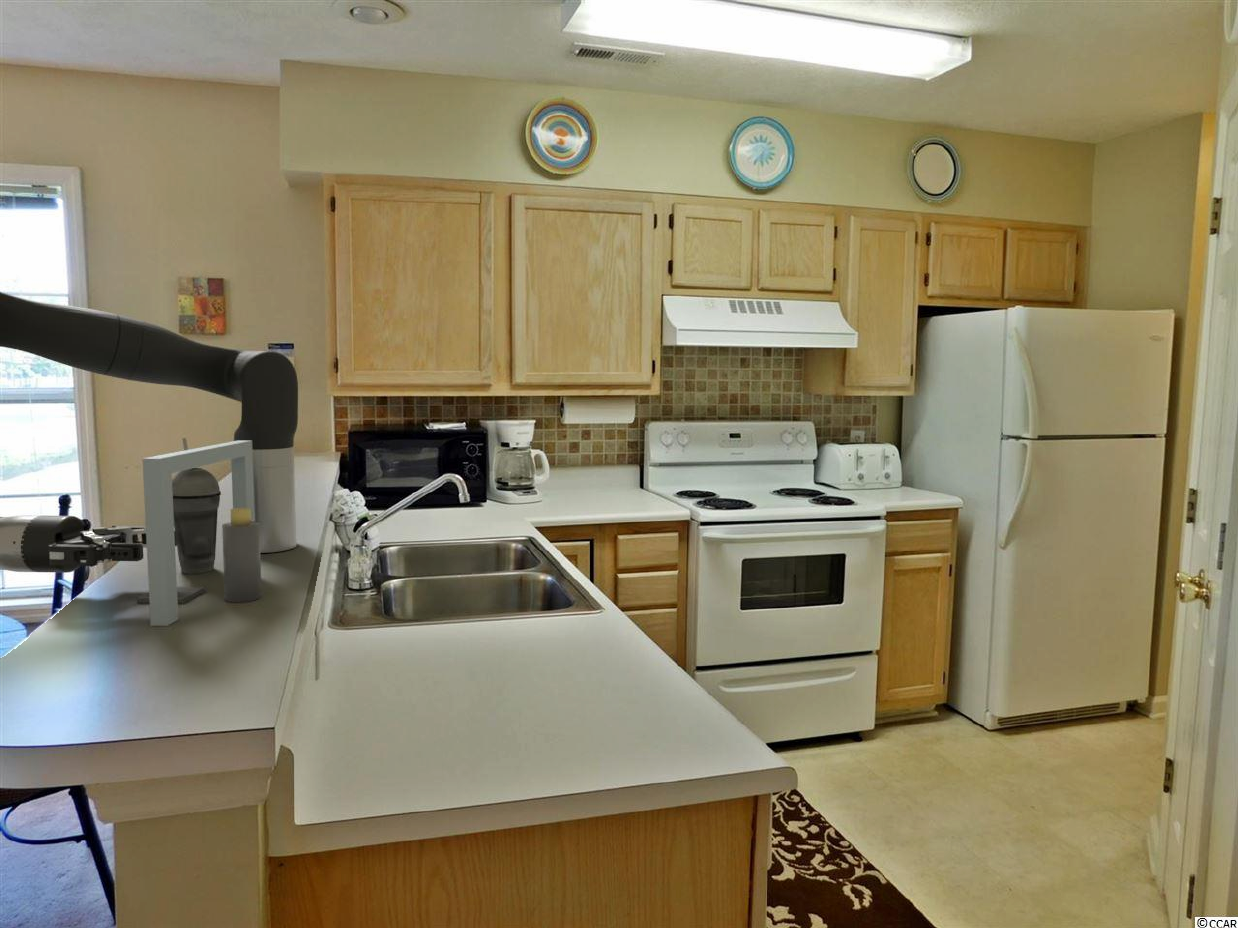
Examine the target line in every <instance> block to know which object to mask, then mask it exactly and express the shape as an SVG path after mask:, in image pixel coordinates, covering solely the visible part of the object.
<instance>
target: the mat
mask: <svg viewBox="0 0 1238 928" xmlns="http://www.w3.org/2000/svg"><path fill="white" fill-rule="evenodd" d="M203 593H206V586H177V601H178V604H185V603H187V602H189V601H190V600H192V599H194V598H196V597H198V596H200V595H201V594H203ZM137 603H138V604H150V601H149V592H147V593H144V594H142V595H140V596H139V597H137V598H136V604H137Z"/></svg>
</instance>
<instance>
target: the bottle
mask: <svg viewBox="0 0 1238 928" xmlns="http://www.w3.org/2000/svg"><path fill="white" fill-rule="evenodd" d="M221 527H222V529H221V530H222V555H223V557H222V559H223V560H222V561H223V588H224V590H223V591H224V601H226V602H228V603H247V602H248V603H249V602H254V601H257V600H259V599H261V598H262V574H261V573H262V571H261V569H262V568H261V553H260V527H259V522H253V521H251V512H250V508H234V509H233V508H231V509H230V522H225V523H223V524H222V525H221Z"/></svg>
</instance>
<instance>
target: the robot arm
mask: <svg viewBox="0 0 1238 928" xmlns="http://www.w3.org/2000/svg"><path fill="white" fill-rule="evenodd" d="M0 347H2V348H7V349H11V350H12V349H13V350H17V351H22V352H25V353H28V354H32V355H35V356H38V357H40V358H44V359H47V360H49V361H53V362H56V363H59V364H62V365H65V366H68V367H71V368H76V369H78V370H82V371H87V372H91V373H92V374H93V373H94V374H97V375H102V376H108V377H112V378H117V379H123V380H126V381H127V380H128V381H134V382H140V383H146V384H155V385H163V386H164V385H166V386H167V385H168V386H179V387H187V388H193V389H196V390H201V391H205V392H209V393H212V394H215V395H219V396H221V397H225V398H228V399H231V400H234V401H237V402H238V403H239V402H240V403H241V415H240V416H241V418H240V419H241V420H240V423H239V425H238V427H237V429H235V431H234V434H233V441H238V440H247V441H252V453H253V482H254V510H255V522H259V527H260V554H263V553H264V554H265V553H276V552H283V551H288V550H291V549H295V548H296V547H297V517H296V516H297V513H296V511H297V510H296V480H295V479H296V478H295V476H296V475H295V471H296V470H295V449H294V446H295V445H294V444H295V443H294V442H295V441H294V439H295V434H296V431H297V428H298V423H299V422H298V420H299V383H298V381H299V380H298V375H297V371H296V368H295V365H294V364H293V363H292V361H291V360H290V359H289V358H288V357H287V356H285V355H284V354H283V353H279V352H277V351H274V350H273V351H272V350H242V349H241V350H240V349H233V348H226V347H220V346H216V345H215V346H214V345H209V344H204V343H200V342H198V341H195V340H193V339H189V338H187V337H185V336H182V335H180V334H179V333H177V332H175V331H171V330H170V329H167V328H164V327H161V326H159V325H156V324H153V323H150V322H147V321H144V320H141V319H137V318H132V317H128V316H124V315H120V314H116V313H114V312H113V313H112V312H108V311H102V310H97V309H92V308H87V307H79V306H74V305H65V304H59V303H49V302H42V301H38V300H37V301H36V300H31V299H28V298H27V299H26V298H24V297H23V298H22V297H19V296H15V295H13V294H9V293H6V292H4V291H0ZM138 535H141V539H139V538H138ZM174 536H175V547H177V545H178V533H177V531H175V530H174ZM144 548H145V549H147V541H146V525H111V526H108V527H106V526H98V527H92V531H91V530H90V529H88V527H87V525H86V524H85V522H84V521H83V520H82V519H81V518H79V517H77V516H75V515H32V514H31V515H27V514H26V515H24V514H23V515H14V516H0V571H8V572H9V571H10V572H13V573H14V572H15V573H16V572H17V573H61V574H63V573H72V572H75V571H76V570H78V569H79V568H80V567H91V568H92V567H95V566H98V565H99V564H100V563H101V564H108V563H111V562H139V561H142V560H143V559H144Z"/></svg>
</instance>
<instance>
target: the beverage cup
mask: <svg viewBox="0 0 1238 928" xmlns="http://www.w3.org/2000/svg"><path fill="white" fill-rule="evenodd" d="M182 446H183V451H185V450H189V447H188V441H187V437H184V438H182ZM172 492H173V514H174V531H177V533H178V545H177V546H176V547H177V548H176V549H177V556H178V562H179V566H180V572H181V573H182V574H186V575H187V574H188V575H189V574H191V575H192V574H193V575H194V574H195V575H197V574H204V573H208V572H212V571H214V570H215V560H216V551H217V550H216V549H217V548H216V547H217V532H218V531H217V529H218V514H219V513H218V511H219V507H220V500H221V495H222V493H221V490H220V485H219V482H218V480H217V478H216V477H215V476H214V474H212V473H211V472H210V471H208V470H206V469H204V468H202V467H196V468H192V469H187V470H183V471H179V472H176V474H175V475H174V476H173V477H172Z"/></svg>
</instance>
